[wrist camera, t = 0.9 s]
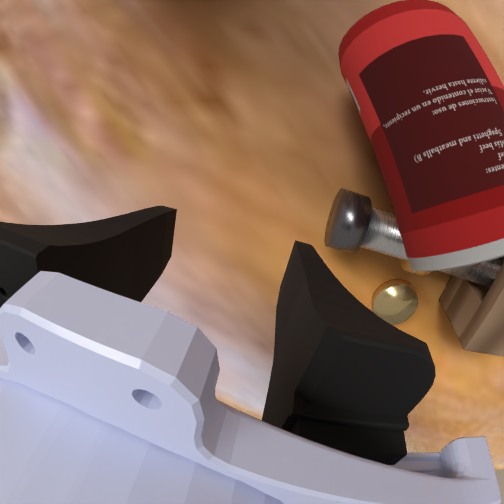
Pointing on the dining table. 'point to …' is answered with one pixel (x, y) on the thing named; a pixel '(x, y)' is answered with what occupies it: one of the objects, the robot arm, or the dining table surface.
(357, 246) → the shaft
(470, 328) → the block
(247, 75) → the dining table surface
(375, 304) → the spacer
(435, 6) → the canned food
